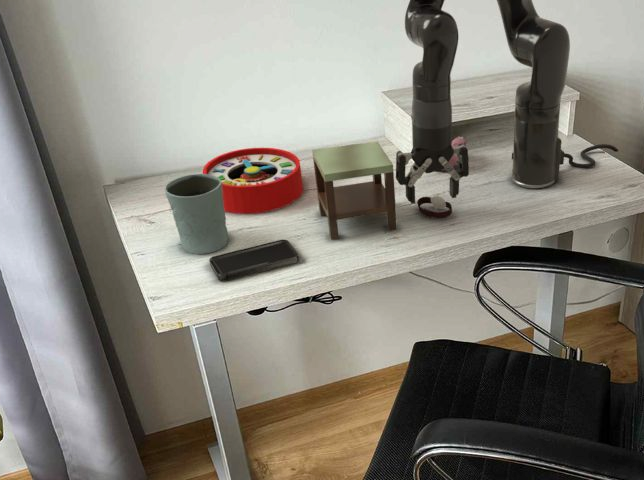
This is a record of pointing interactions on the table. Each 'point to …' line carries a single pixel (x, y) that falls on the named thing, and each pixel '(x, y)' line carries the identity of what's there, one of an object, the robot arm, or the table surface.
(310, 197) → the table surface
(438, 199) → the watch
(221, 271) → the phone
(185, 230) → the grey-green cup
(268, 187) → the toy clock
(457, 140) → the video game controller
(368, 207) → the small side table
